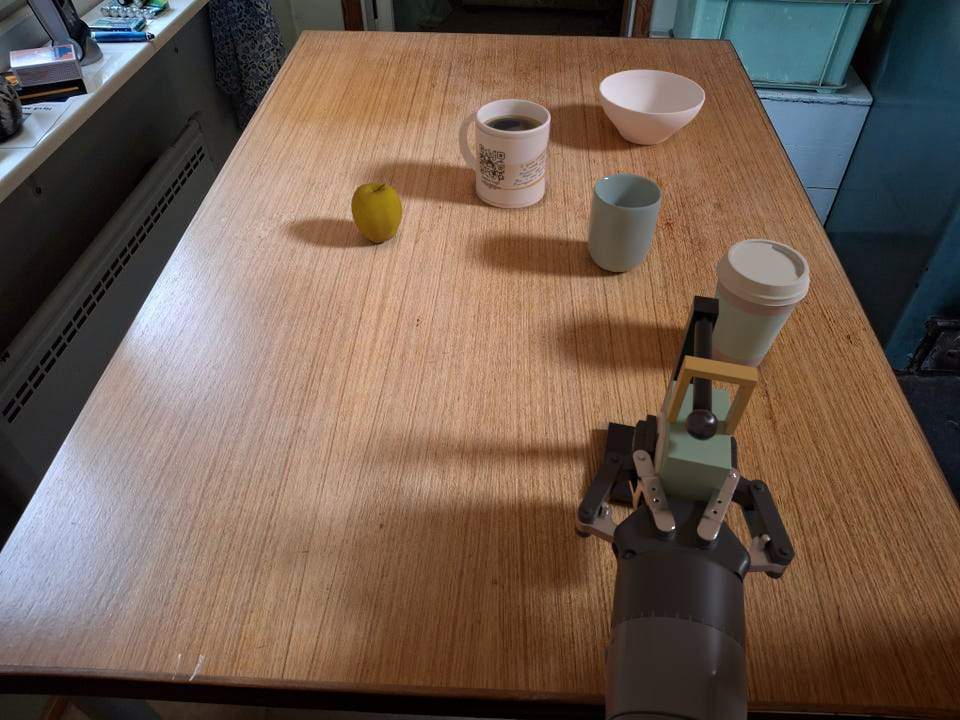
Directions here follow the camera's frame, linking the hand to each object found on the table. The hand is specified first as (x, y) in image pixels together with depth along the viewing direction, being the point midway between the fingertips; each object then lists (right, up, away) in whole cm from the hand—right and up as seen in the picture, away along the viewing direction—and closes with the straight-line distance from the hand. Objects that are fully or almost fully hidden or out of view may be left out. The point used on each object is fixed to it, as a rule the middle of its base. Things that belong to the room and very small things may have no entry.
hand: (683, 428), depth 50 cm
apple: (-28, +21, +37) cm, 51 cm away
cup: (+2, +17, +34) cm, 38 cm away
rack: (0, -7, +9) cm, 11 cm away
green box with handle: (-1, -6, +2) cm, 7 cm away
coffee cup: (+12, +6, +22) cm, 26 cm away
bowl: (+11, +41, +57) cm, 71 cm away
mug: (-12, +30, +46) cm, 56 cm away
